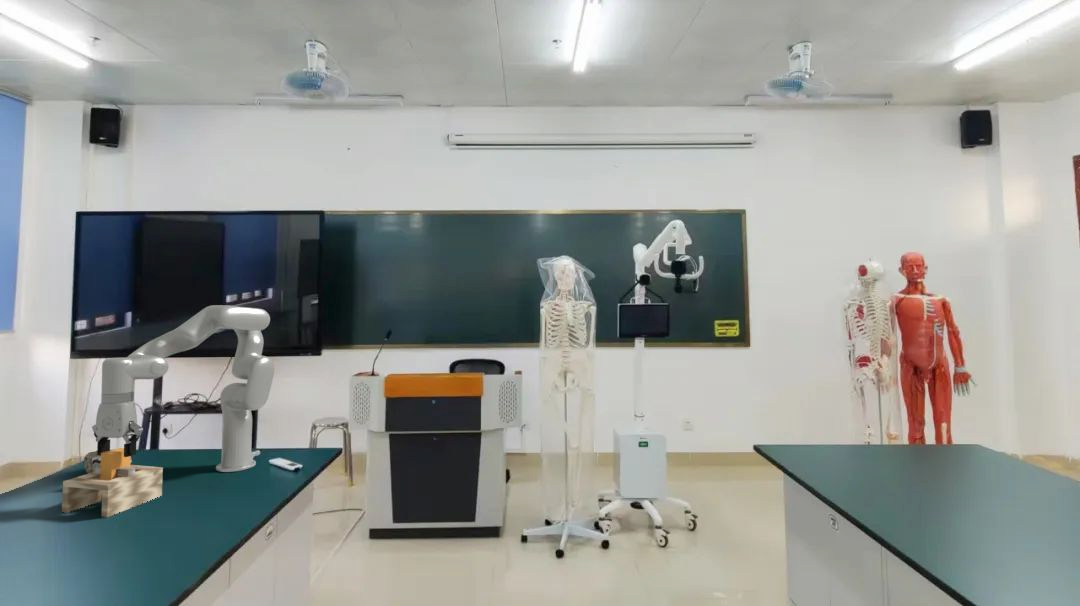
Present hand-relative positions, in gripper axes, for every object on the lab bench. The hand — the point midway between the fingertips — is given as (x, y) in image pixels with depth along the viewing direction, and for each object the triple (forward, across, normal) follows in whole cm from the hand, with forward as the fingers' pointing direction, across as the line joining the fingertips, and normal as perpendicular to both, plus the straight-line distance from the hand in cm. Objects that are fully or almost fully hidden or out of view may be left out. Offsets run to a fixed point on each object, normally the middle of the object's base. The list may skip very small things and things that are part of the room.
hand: (116, 454), depth 143 cm
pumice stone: (+15, -33, +22) cm, 42 cm away
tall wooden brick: (+9, 0, 0) cm, 9 cm away
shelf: (+15, 0, 0) cm, 15 cm away
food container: (+15, -15, +12) cm, 24 cm away
